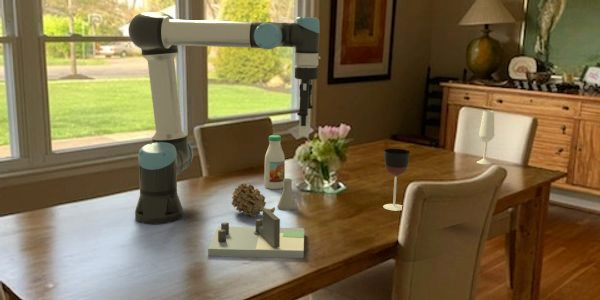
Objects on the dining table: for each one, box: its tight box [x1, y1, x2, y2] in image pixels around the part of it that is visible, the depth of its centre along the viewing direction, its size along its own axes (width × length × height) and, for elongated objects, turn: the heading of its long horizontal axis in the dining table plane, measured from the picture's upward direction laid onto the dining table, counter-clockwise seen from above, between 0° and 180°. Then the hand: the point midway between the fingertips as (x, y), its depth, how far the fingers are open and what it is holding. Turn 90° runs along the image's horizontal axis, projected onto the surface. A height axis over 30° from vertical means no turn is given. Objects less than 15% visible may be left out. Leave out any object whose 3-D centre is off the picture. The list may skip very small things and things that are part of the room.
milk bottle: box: [263, 134, 286, 190], centre depth 228 cm, size 8×8×20 cm
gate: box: [255, 208, 281, 248], centre depth 168 cm, size 15×2×8 cm, turn 24°
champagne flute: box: [476, 110, 495, 165], centre depth 273 cm, size 7×7×24 cm
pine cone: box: [231, 183, 276, 218], centre depth 194 cm, size 22×10×10 cm, turn 44°
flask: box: [276, 177, 299, 211], centre depth 204 cm, size 7×7×10 cm
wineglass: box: [382, 148, 411, 212], centre depth 206 cm, size 8×9×20 cm
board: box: [207, 221, 306, 259], centre depth 171 cm, size 26×18×5 cm
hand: (304, 131), depth 195 cm, fingers open, 13 cm apart
